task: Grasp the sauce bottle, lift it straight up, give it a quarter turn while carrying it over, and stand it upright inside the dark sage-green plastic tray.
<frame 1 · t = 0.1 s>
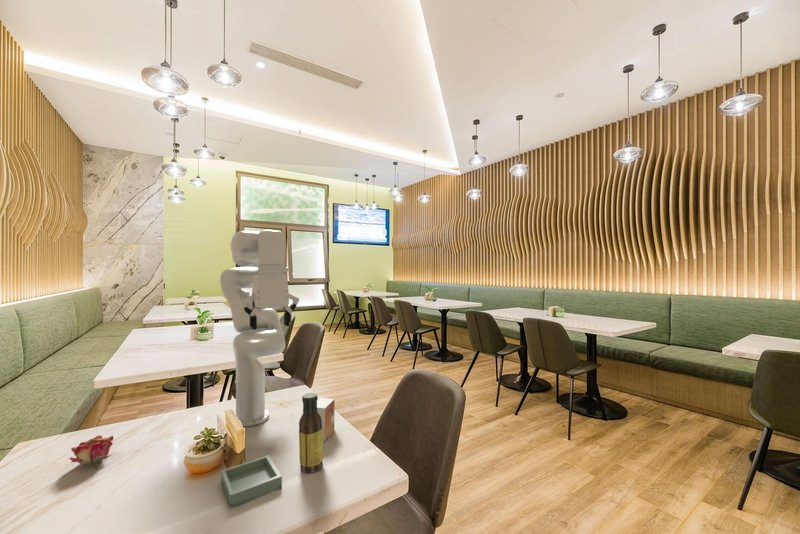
hand: (270, 327, 102), 37 cm above the table, tool pointing down, fingers open, 9 cm apart
sauce bottle: (311, 468, 92), on the table
tray: (251, 485, 84), on the table
small box: (322, 435, 110), on the table
flower: (92, 465, 93), on the table
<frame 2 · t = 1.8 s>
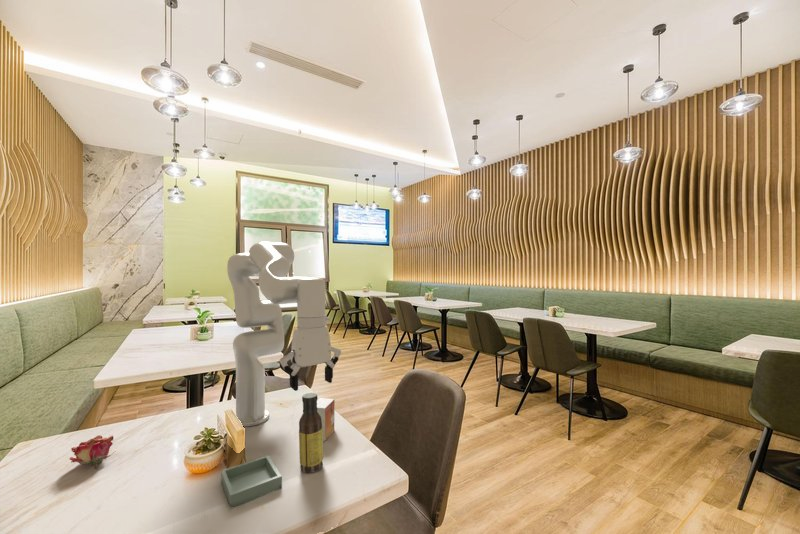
hand: (312, 385, 91), 23 cm above the table, tool pointing down, fingers open, 9 cm apart
nothing on the table moved.
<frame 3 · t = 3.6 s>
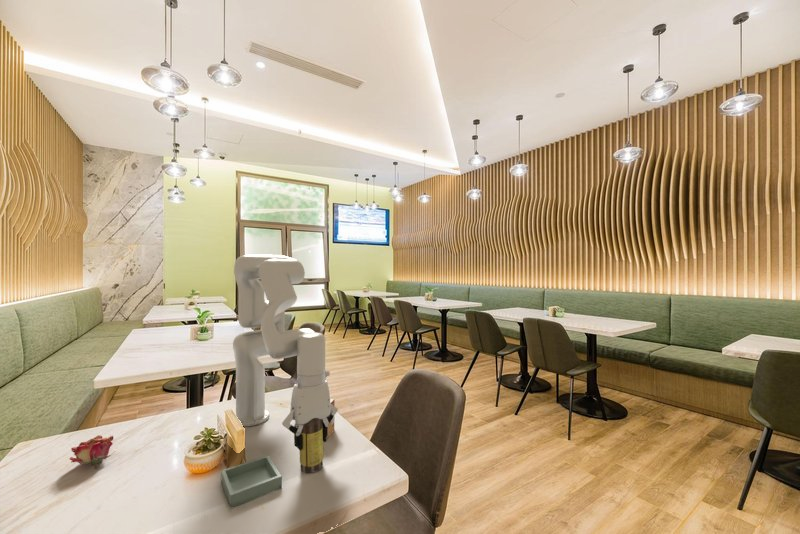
hand: (311, 443, 92), 7 cm above the table, tool pointing down, fingers closed on sauce bottle, 6 cm apart
sauce bottle: (311, 468, 92), on the table, touching gripper
everything else where it was.
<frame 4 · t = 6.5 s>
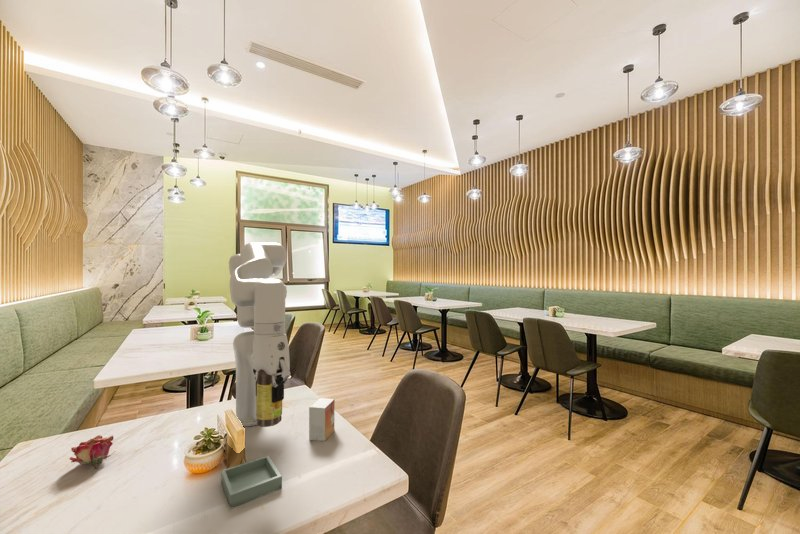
hand: (269, 397, 86), 21 cm above the table, tool pointing down, fingers closed on sauce bottle, 6 cm apart
sauce bottle: (269, 423, 87), point 15 cm above the table, touching gripper
everything else where it was.
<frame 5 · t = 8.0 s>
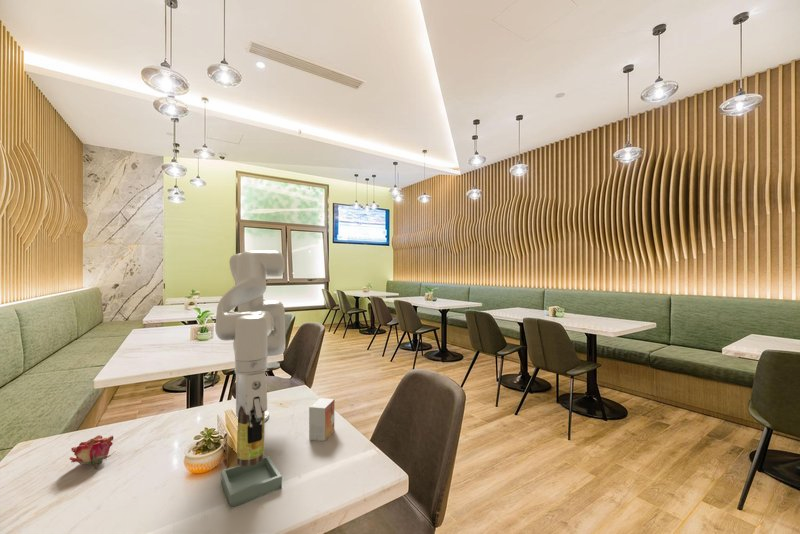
hand: (251, 435, 84), 13 cm above the table, tool pointing down, fingers closed on sauce bottle, 6 cm apart
sauce bottle: (250, 462, 84), point 6 cm above the table, touching gripper
everything else where it was.
when the fingers open (9 cm above the table, at t = 9.3 s): sauce bottle drops 1 cm, resting on tray.
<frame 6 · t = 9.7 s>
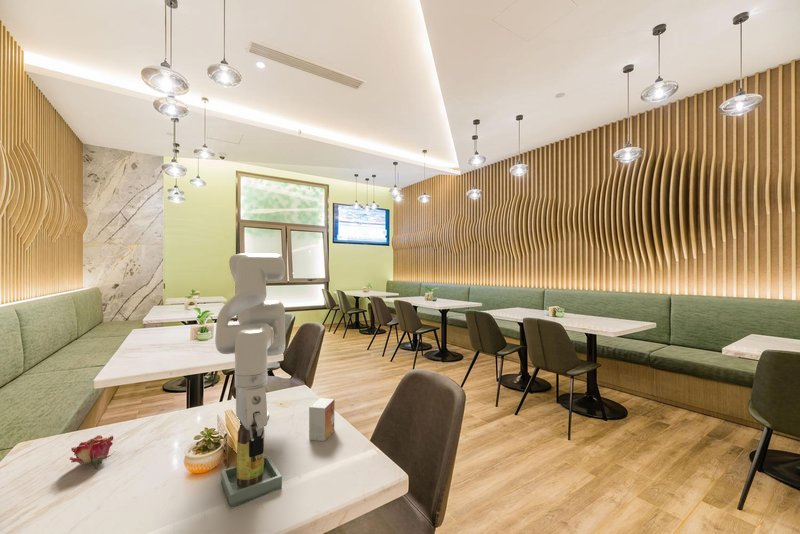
hand: (251, 446, 84), 10 cm above the table, tool pointing down, fingers open, 9 cm apart
sauce bottle: (250, 481, 85), point 1 cm above the table, touching tray
everything else where it was.
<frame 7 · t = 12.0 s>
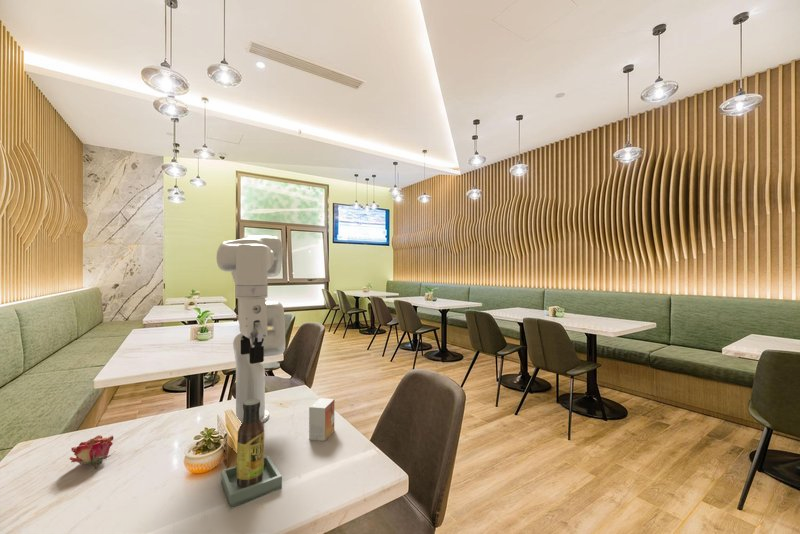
hand: (251, 358, 86), 32 cm above the table, tool pointing down, fingers open, 9 cm apart
nothing on the table moved.
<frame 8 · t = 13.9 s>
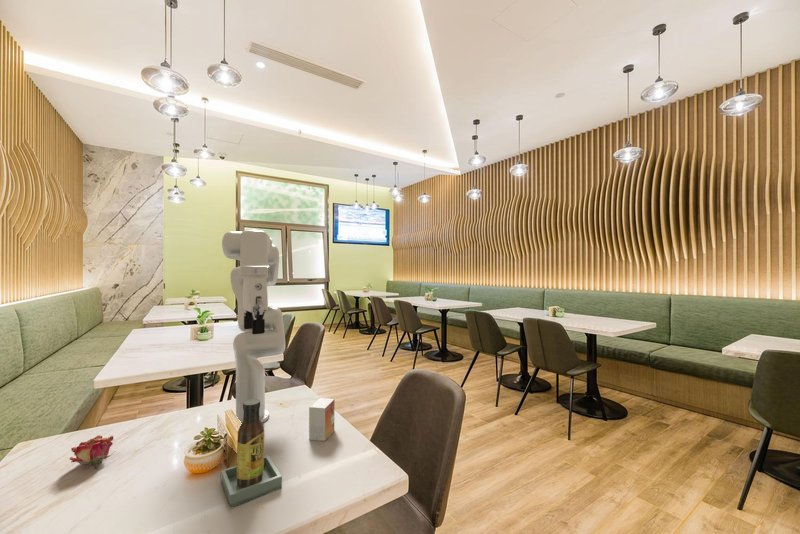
hand: (253, 331, 98), 36 cm above the table, tool pointing down, fingers open, 9 cm apart
nothing on the table moved.
at the end: sauce bottle 0.7 cm off-centre on the tray, point 0.6 cm above the tray's base; sauce bottle tilted 0°; the gripper is holding nothing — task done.
